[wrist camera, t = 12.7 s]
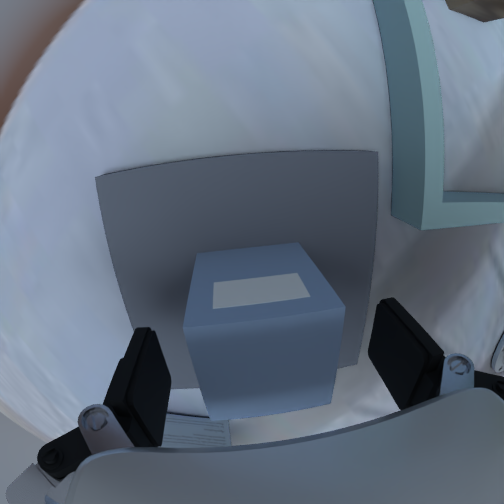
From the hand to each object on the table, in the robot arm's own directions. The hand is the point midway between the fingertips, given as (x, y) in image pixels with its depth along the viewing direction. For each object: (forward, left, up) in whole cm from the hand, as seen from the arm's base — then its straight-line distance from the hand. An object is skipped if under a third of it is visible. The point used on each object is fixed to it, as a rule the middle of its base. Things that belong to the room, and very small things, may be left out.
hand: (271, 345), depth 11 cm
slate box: (0, 0, -4) cm, 4 cm away
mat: (0, 0, -5) cm, 5 cm away
